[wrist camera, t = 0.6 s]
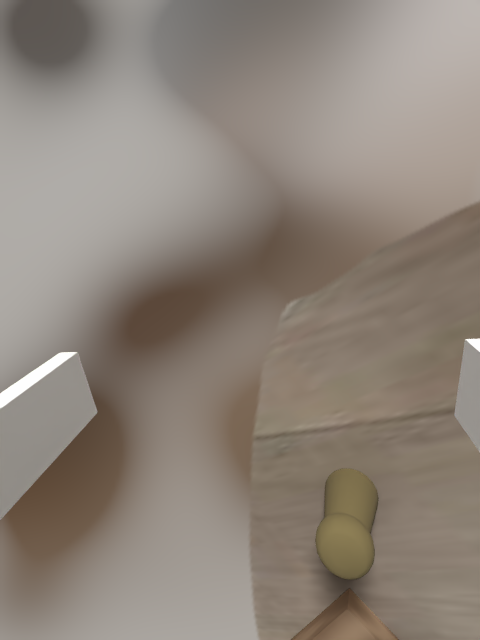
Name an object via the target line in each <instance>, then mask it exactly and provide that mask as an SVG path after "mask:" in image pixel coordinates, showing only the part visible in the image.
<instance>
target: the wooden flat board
mask: <svg viewBox="0 0 480 640" xmlns="http://www.w3.org/2000/svg"><path fill="white" fill-rule="evenodd" d="M291 640H399V639H398V638H397V637H396V636H395V635H394V634H393V633H392V632H391V631H390V630H389V629H388V628H387V627H386V626H385V625H384V624H383V623H382V622H381V621H380V619H379V618H378V617H377V616H376V615H375V614H374V613H373V612H372V611H371V610H370V609H369V608H368V607H367V606H366V605H365V604H364V603H363V602H362V601H361V600H360V599H359V597H358V596H357V595H356V594H355V593H354V592H353V591H352V590H351V589H350V588H349V589H348V590H347V591H346V592H344V593H343V594H342V595H341V596H340V597H339V598H338V599H337V600H335V601H334V602H333V603H332V604H331V605H330V606H329V607H327V608H326V609H325V610H324V611H323V612H322V613H321V614H320V615H318V616H317V617H316V618H315V619H314V620H313V621H312V622H310V623H309V624H308V625H307V626H306V627H305V628H304V629H302V630H301V631H300V632H299V633H298V634H297V635H296V636H295V637H293V638H292V639H291Z"/></svg>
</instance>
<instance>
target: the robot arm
mask: <svg viewBox="0 0 480 640" xmlns="http://www.w3.org/2000/svg"><path fill="white" fill-rule="evenodd" d="M96 414H97V410H96V406H95V403H94V400H93V398H92V395H91V392H90V388H89V385H88V382H87V379H86V376H85V373H84V370H83V367H82V364H81V361H80V358H79V355H78V352H66V353H59V354H57V355H56V356H54V357H53V358H52V359H50V360H49V361H47V362H46V363H44V364H43V365H41V366H40V367H38V368H37V369H35V370H34V371H32V372H31V373H30V374H28V375H27V376H25V377H24V378H22V379H21V380H19V381H18V382H16V383H15V384H13V385H12V386H11V387H9V388H7V389H6V390H5V391H3V392H2V393H0V520H1V518H3V516H4V515H5V514H6V513H7V512H8V511H9V510H10V509H11V508H12V507H13V505H14V504H15V503H16V502H17V501H18V500H19V499H20V498H21V496H22V495H23V494H24V493H25V492H26V491H27V490H28V489H29V488H30V487H31V485H32V484H33V483H34V482H35V481H36V480H37V479H38V478H39V476H41V474H42V473H43V472H44V471H45V470H46V469H47V468H48V467H49V466H50V464H51V463H52V462H53V461H54V460H55V459H56V458H57V457H58V456H59V455H60V453H61V452H62V451H63V450H64V449H65V448H66V447H67V446H68V445H69V443H70V442H71V441H72V440H73V439H74V438H75V437H76V436H77V434H78V433H79V432H80V431H81V430H82V429H83V428H84V427H85V426H86V425H87V424H88V422H89V421H90V420H91V419H92V418H93V417H94V416H95V415H96ZM454 416H455V417H456V419H457V420H458V421H459V423H460V424H461V426H462V427H463V429H464V430H465V432H466V433H467V434H468V436H469V437H470V439H471V440H472V442H473V443H474V445H475V446H476V447H477V449H478V450H479V452H480V339H465V344H464V351H463V358H462V365H461V373H460V380H459V387H458V394H457V401H456V408H455V415H454Z"/></svg>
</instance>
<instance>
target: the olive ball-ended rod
mask: <svg viewBox="0 0 480 640" xmlns="http://www.w3.org/2000/svg"><path fill="white" fill-rule="evenodd" d="M377 505H378V494H377V490H376V488H375V486H374V484H373V482H372V481H371V480H370V479H369V478H368V477H367V476H366V475H364V474H362V473H361V472H359V471H357V470H353V469H340V470H337V471H334V472H333V473H332V474H331V475H330V476H329V477H328V479H327V481H326V485H325V512H324V519H323V520H322V521H321V523H320V525H319V526H318V528H317V532H316V539H315V542H316V548H317V553H318V555H319V557H320V559H321V561H322V563H323V564H324V565H325V566H326V568H327V569H328V570H329V571H330V572H332V573H333V574H334V575H336V576H338V577H340V578H343V579H349V580H353V579H358V578H361V577H362V576H364V575H365V574H367V573H368V571H369V570H370V568H371V567H372V564H373V561H374V555H375V549H374V544H373V540H372V537H371V535H370V533H371V529H372V525H373V521H374V517H375V513H376V510H377Z"/></svg>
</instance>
